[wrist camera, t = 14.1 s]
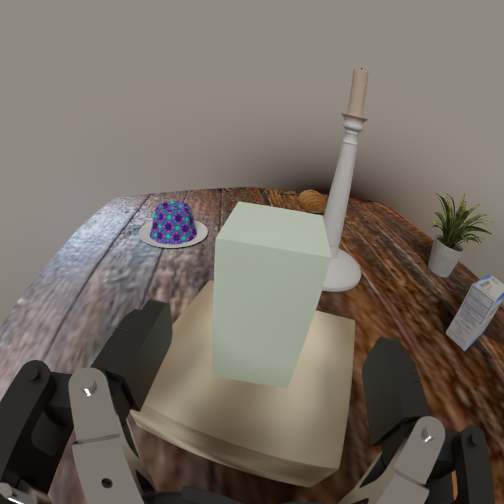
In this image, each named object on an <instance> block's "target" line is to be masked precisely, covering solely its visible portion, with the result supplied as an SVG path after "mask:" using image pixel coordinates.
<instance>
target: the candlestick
mask: <svg viewBox="0 0 504 504" xmlns="http://www.w3.org/2000/svg"><path fill="white" fill-rule="evenodd" d="M367 79H368V72H367V71H364V70H362V68H361V69H354V71H353V79H352V86H351V93H350V100H349V107H348V113H347V114H342V115H343V117H344V120H345V121H344V124H343V126H344V128H345V129H346V130H345V138H344V140H343V141H342V142H343V143H342V147H341V152H340V156H339V160H338V164H337V168H336V172H335V175H334V179H333V183H332V187H331V191H330V194H329V198H328V202H327V205H326V209H325V213H324V216H323V220H324V224H325V229H326V233H327V238H328V243H329V248H330V252H331V257H332V258H331V261H330V265H329V268H328V272H327V275H326V278H325V282H324V285H323V288H322V290H323V291H332V292H338V291H346V290H349V289H352V288H353V287H355V286H356V285H357V284H358V283H359V281H360V278H361V270H360V268H359V266H358V264H357V263H356V261H355V260H354V259H353V258H352V257H351V256H350V255H349V254H347V253H346V252H344V251H343V250H341V249H339V244H340V239H341V234H342V229H343V224H344V219H345V214H346V209H347V204H348V198H349V192H350V187H351V181H352V175H353V169H354V162H355V156H356V149H357V141H356V140H357V136H358V135H359V132H361V131H362V130H363V127H362V125H363V123H364V122H365V121H367V119H364V118H362V114H363V108H364V101H365V94H366V87H367Z"/></svg>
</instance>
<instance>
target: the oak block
mask: <svg viewBox="0 0 504 504" xmlns="http://www.w3.org/2000/svg"><path fill="white" fill-rule="evenodd" d="M213 293H214V281H211V280H210V281H209V282H208V283H207V284H206V285H205V287H204V288H203V289H202V290H201V291H200V293H199V294H198V295H197V296H196V297H195V299H194V300H193V301H192V302H191V303H190V305H189V306H188V307H187V308H186V310H185V311H184V312H183V313H182V314H181V316H180V317H179V318H178V319H177V320H176V322H175V323H174V324H173V325H172V330H173V336H172V341H171V345H170V347H169V349H168V351H167V354H166V356H165V358H164V360H163V362H162V364H161V367H160V369H159V371H158V373H157V375H156V377H155V380H154V382H153V384H152V386H151V388H150V391H149V393H148V395H147V397H146V400H145V402H144V404H143V406H142V409H141V411H140V412H137V411H135V410H132V409H131V410H130V413H131V415H132V416H133V418H134V420H135V422H136V424H137V425H138V426H139V427H141V428H143V429H145V430H147V431H148V432H150V433H152V434H154V435H156V436H158V437H160V438H162V439H164V440H166V441H168V442H170V443H172V444H174V445H176V446H179V447H181V448H183V449H185V450H187V451H190V452H192V453H194V454H197V455H199V456H202V457H204V458H207V459H209V460H212V461H214V462H217V463H220V464H223V465H225V466H228V467H231V468H234V469H237V470H240V471H244V472H247V473H250V474H254V475H257V476H261V477H264V478H268V479H272V480H276V481H280V482H285V483H289V484H294V485H299V486H305V487H310V488H311V487H312V486H314V485H315V484H317V483H319V482H320V481H322V480H323V479H325V478H326V477H328V476H330V475H331V474H332V473H334V472H335V471H337V470H338V469H339V466H340V461H341V455H342V450H343V444H344V438H345V431H346V425H347V417H348V410H349V401H350V392H351V382H352V370H353V356H354V337H355V320H351V319H347V318H343V317H339V316H335V315H331V314H327V313H324V312H320V311H316V310H315V313H314V317H313V319H312V322H311V325H310V328H309V331H308V334H307V337H306V340H305V343H304V345H303V348H302V351H301V354H300V356H299V359H298V362H297V364H296V367H295V370H294V372H293V375H292V378H291V380H290V383H289V385H288V388H281V387H274V386H268V385H261V384H256V383H250V382H244V381H239V380H234V379H229V378H224V377H220V376H215V375H212V333H213Z"/></svg>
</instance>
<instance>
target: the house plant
mask: <svg viewBox="0 0 504 504" xmlns="http://www.w3.org/2000/svg"><path fill="white" fill-rule="evenodd" d="M437 195H438V194H437ZM440 197H441V196H440ZM446 198H447V197H446ZM464 198H465V194H464V196H463V197H462V200H461V202H460V205H459V209H458V211H457V212H456V214H455V206H454V201H453V199H452V198H451V199H452V201H453V206H454V218H453V214H452V207H451V204H450V201H449V199H447V202H448V205H447V203H446V201H445V198H444V197H443V198H442V197H441V199H442V201H443V203H444V205H445V208H446V213H445V209H444V207H443V205H442V207H443V210H444V213H445V218H446V214H447V218H446V222H445V219H444V217H443V216H442V214H440V213H438V212H436V214H437V216H438V217H439V218H440V220H441V221H442V223H443V225H442V224H441V223H440V222H439V221H438V220H435V221H434V222H433V223H435V224H439V225H442V227H443V229H442V228H441V229H442V231H443V235H444V236H443V235H435V237H434V242H433V246H432V251H431V255H430V259H429V263H428V268H429V269H430V270H431V271H432V272H433V273H434V274H436V275H438V276H440V277H445V278H446V277H448V276H449V275H450V273H451V272H452V270H453V268H454V267H455V265H456V264H457V262H458V261H459V259H460V257H461V256H462V254H463V252H464V248H463V247H462V246H461V245H460V244H459V243H457V242H459V241H460V240H463V239H464V240H465V243H466V244H467V242H468V240H469V239H470V240H473V241H476V242H478V241H477V240H476V239H475V238H479V237H477V236H475V235H474V234H466V233H467V232H469V231H482V232H486V233H489V232H488V231H486V230H484V229H481V228H478V227H474V226H468V225H469V224H470V223H472V222H474V221H475V220H477V219H479V218H480V217H481V216H485V214H481V215H477V216H475V217H473V218H471V219H470V220H468V221H466V222H465V223H464V224H463V226H462V227H460V226H461V224H462V223H463V222H464V220H465V219H466V218H467V216H468V215H469V214H470V213H471V212H472V211H473V210H474V209H475V208H477V207H478V206H479V205H476V206H474V207H473V208H471V209H469V210H468V211H466V210H465V206H466V202H464ZM439 200H440V199H439ZM440 201H441V200H440ZM441 204H442V202H441ZM452 220H453V223H452ZM481 220H482V219H481ZM486 221H488V220H486ZM433 223H432V224H433ZM477 223H483V222H477ZM484 224H485V223H484ZM434 227H439V226H438V225H434ZM459 227H460V228H459ZM464 234H466V235H464ZM489 234H491V233H489ZM469 235H472V236H475V238H472V237H466V236H469ZM461 236H462V237H461ZM478 240H479V239H478ZM456 241H457V242H456ZM479 241H480V240H479ZM478 243H479V242H478Z"/></svg>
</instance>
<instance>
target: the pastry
mask: <svg viewBox="0 0 504 504" xmlns="http://www.w3.org/2000/svg"><path fill="white" fill-rule="evenodd" d="M298 202H299V204H300V206H301V207H303V208H304V209H305V210H306V211H309V212H311V213H321V214H323V213H324V212H325V209H326V200H325V198H324V197H323V195H321V194H319V193H318V192H316V191H314V190H307V191H304V192H302V193H301V194H300V196H299V199H298Z"/></svg>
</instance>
